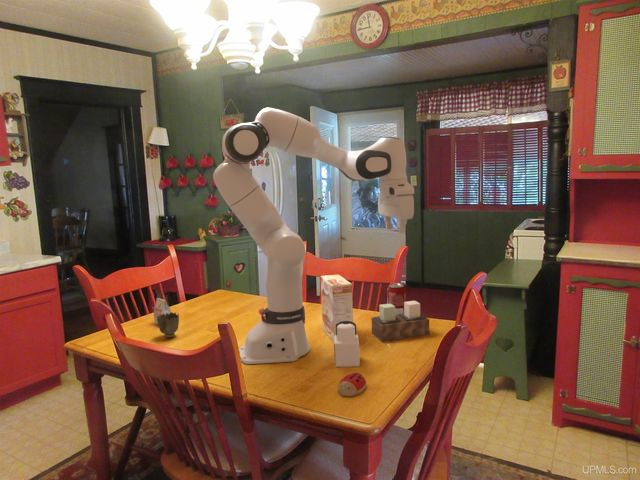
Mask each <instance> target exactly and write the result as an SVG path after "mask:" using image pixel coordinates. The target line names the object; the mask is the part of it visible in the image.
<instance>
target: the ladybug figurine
mask: <svg viewBox="0 0 640 480" xmlns="http://www.w3.org/2000/svg"><path fill="white" fill-rule="evenodd" d="M337 387H338V388H337V392H338V394H339V395H340V396H343V397H345V398H346V397H354V396H357V395H359V394H361V393H363V392H364V391H365V390H366V387H367V381H366V379H365V377H364V376H363V375H362V374H361V373H360V372H351V373H349V374H346V375H345V376H344V377H343V378H341V380H340V382H339V384H338V386H337Z"/></svg>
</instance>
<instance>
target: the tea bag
mask: <svg viewBox="0 0 640 480" xmlns="http://www.w3.org/2000/svg"><path fill="white" fill-rule="evenodd" d="M171 312H172V309H171V308H170V306H169V305H168V303H167V300H166V299H162V298H160V297H156V299H155V303H154V307H153V317H154V318H153V319H154V324H155V323H156V324H158V321H157V317H158V316H159V317H160V315H162V314H165V315H166V313H168V315H169V314H170V313H171ZM156 324H155V325H156Z"/></svg>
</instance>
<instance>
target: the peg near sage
mask: <svg viewBox="0 0 640 480" xmlns="http://www.w3.org/2000/svg"><path fill="white" fill-rule="evenodd" d="M378 308H379V309H378V310H379V316H380V319H381V320H382V321H392V320H395V306H393V305H392V304H387V303H384V304H379V307H378Z"/></svg>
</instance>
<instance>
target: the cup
mask: <svg viewBox="0 0 640 480" xmlns="http://www.w3.org/2000/svg"><path fill="white" fill-rule="evenodd" d="M179 320H180V315H179V313H176V312H172V311H171V313H170V314H169V315H168V313H166V315H165V314H162V315H160V317H159V316H158V317H157V321H158V325H157V326H158V330H159V331H160V333H162V334H163V335H164V336H163V337H164V338H165V339H172V338H171V337H173V338H174V337H176V332H177V331H178V329H179V326H180V325H179V323H180V321H179Z"/></svg>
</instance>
